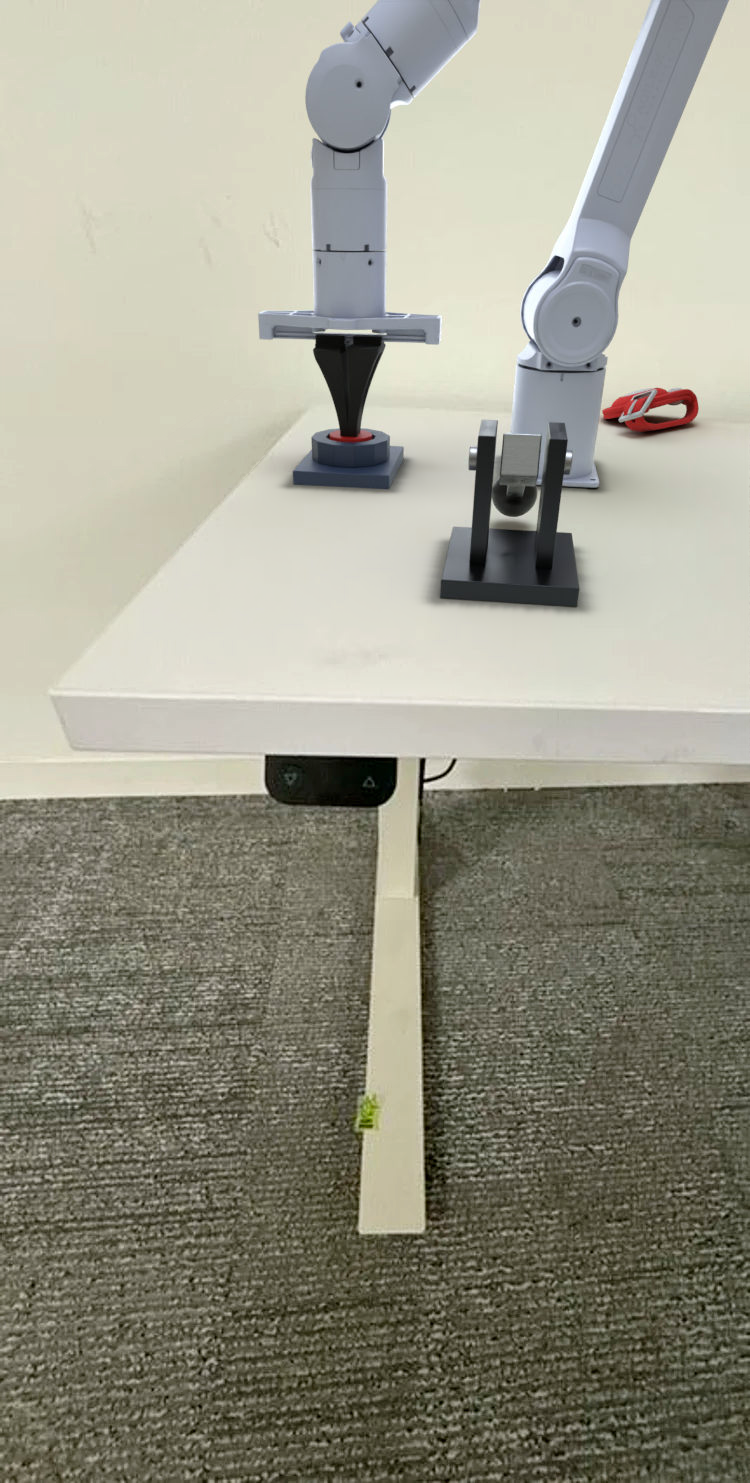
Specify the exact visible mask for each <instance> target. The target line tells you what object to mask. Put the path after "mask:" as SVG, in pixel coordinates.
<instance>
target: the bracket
mask: <svg viewBox="0 0 750 1483" xmlns="http://www.w3.org/2000/svg"><path fill="white" fill-rule="evenodd" d="M498 424H499V421H498V420H497V419H481V420H480V426H479V431H478V435H477V445H470V446H469V453H468V464H467V465H468V468H467V469H468V471H473V472H475V475H474V490H473V504H472V516H471V517H472V520H471V527H470V526H452V529H451V533H450V538H449V543H448V547H447V552H446V556H445V560H444V565H443V568H442V574H441V577H440V590H439V598H440V599H446V600H457V601H458V600H461V601H474V602H475V601H477V602H490V603H491V602H492V603H505V604H521V605H523V604H524V605H535V606H536V605H537V606H551V607H552V606H553V607H568V608H578V603H579V596H580V582H579V575H578V567H577V560H576V554H575V546H574V538H573V533H572V532H563V531H558V530H557V529H558V526H559V524H558V523H559V516H560V508H561V500H562V491H563V486H562V484H563V476H564V475H570V473H571V467H572V458H573V451H572V450H567V443H568V438H567V433H566V427H565V423H557V422H548V428H547V437H546V446H545V455H544V465H543V474H542V483H541V485H540V492H539V500H538V501H539V503H538V511H537V520H536V529H535V530H525V529H524V530H523V529H509V528H507V529H505V528H490V524H491V510H492V502H493V501H492V488H493V485H494V477H495V476H494V474H495V461H496V451H497V450H496V448H497V437H498Z"/></svg>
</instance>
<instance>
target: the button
mask: <svg viewBox="0 0 750 1483" xmlns="http://www.w3.org/2000/svg"><path fill="white" fill-rule="evenodd" d="M330 440H333V441H338V442H364V441H369V440H372V434H371V433H370V432H367V431H363V430H360V433H359V435H358V436H357V437H344V436H340V430H338V431H334V432H332V433H330Z"/></svg>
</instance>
